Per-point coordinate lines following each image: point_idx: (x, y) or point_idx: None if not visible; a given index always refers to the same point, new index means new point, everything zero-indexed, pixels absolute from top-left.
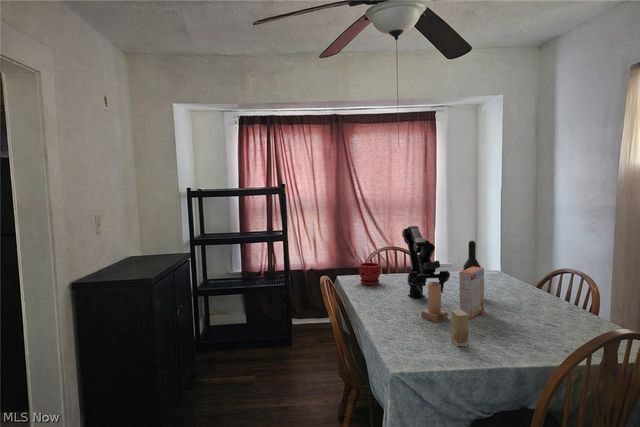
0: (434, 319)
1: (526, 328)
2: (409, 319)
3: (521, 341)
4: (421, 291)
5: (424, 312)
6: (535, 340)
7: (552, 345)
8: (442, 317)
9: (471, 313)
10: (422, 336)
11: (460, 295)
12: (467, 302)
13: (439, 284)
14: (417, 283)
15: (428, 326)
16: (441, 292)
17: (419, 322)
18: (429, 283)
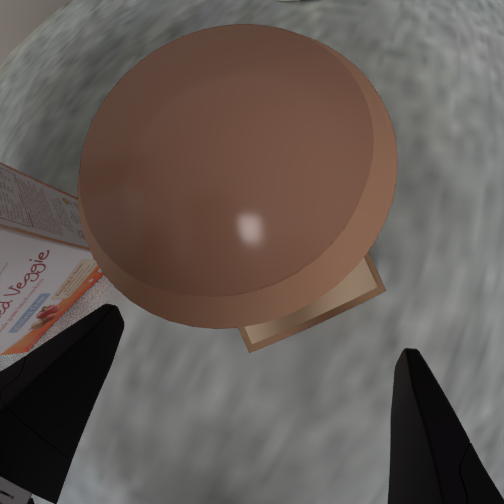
0: None
1: (17, 111)
2: (462, 267)
3: (99, 20)
4: (422, 359)
5: (371, 264)
6: (66, 34)
7: (63, 19)
8: None
9: (73, 197)
10: (430, 45)
11: (19, 226)
12: (37, 195)
13: (135, 74)
14: (488, 482)
15: None
16: (121, 324)
17: (418, 202)
18: (368, 136)
